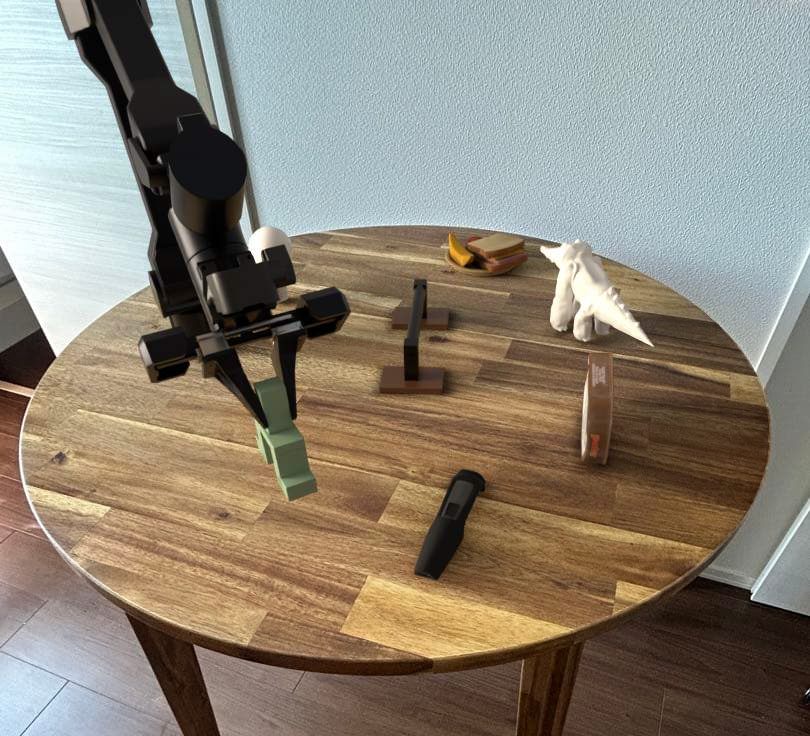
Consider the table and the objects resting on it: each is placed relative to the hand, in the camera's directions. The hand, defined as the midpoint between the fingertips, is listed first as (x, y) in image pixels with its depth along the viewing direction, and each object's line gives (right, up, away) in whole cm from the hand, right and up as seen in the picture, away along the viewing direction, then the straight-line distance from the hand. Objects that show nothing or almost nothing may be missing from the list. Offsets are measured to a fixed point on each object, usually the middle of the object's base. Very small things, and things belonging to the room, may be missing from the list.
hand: (280, 423), depth 60 cm
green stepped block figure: (0, -4, +6) cm, 7 cm away
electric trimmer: (+16, -10, +6) cm, 20 cm away
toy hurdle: (+13, +15, +29) cm, 36 cm away
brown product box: (+33, +1, +16) cm, 36 cm away
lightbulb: (-8, +26, +40) cm, 49 cm away
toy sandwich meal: (+25, +35, +47) cm, 64 cm away
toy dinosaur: (+37, +18, +31) cm, 51 cm away
